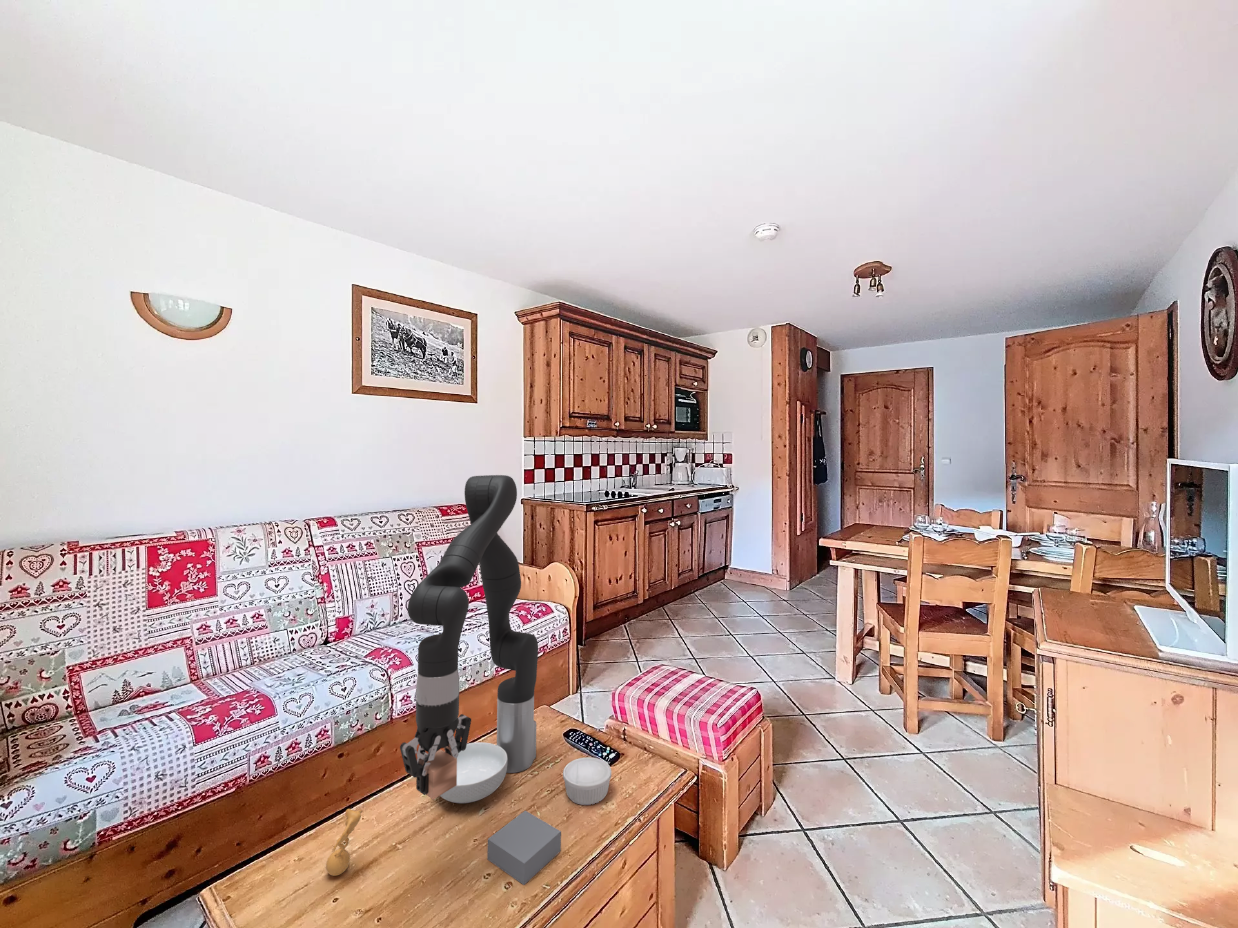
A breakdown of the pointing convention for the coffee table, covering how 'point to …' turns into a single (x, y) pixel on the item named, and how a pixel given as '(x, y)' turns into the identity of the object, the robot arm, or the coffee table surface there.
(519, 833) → the slate base
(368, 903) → the coffee table surface
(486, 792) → the cereal bowl
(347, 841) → the figurine
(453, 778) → the terracotta cube
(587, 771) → the ramekin
